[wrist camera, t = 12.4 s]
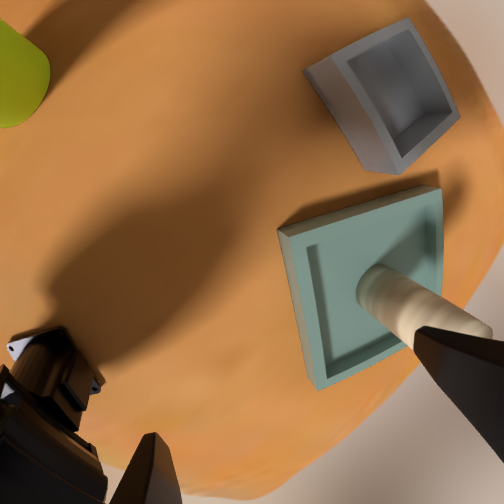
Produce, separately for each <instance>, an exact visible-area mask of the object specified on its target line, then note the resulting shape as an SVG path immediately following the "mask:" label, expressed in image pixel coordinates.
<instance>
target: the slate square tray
mask: <svg viewBox="0 0 504 504" xmlns="http://www.w3.org/2000/svg"><path fill="white" fill-rule="evenodd" d="M302 72H303V74H304V75H305V77H306V78H307V79H308V81H309V82H310V84H311V85H312V86H313V88H314V89H315V91H316V92H317V94H318V95H319V97H320V98H321V100H322V101H323V103H324V104H325V106H326V107H327V109H328V110H329V112H330V113H331V115H332V116H333V118H334V119H335V121H336V123H337V124H338V126H339V127H340V129H341V131H342V132H343V134H344V136H345V137H346V139H347V140H348V142H349V144H350V146H351V147H352V149H353V151H354V152H355V154H356V156H357V158H358V159H359V161H360V163H361V165H362V166H363V168H364V170H365V171H372V172H379V173H386V174H393V175H400V174H401V173H403V172H404V171H405V170H406V169H407V168H408V167H409V166H410V165H411V164H412V163H413V162H414V161H415V160H417V159H418V158H419V157H420V156H421V155H422V154H423V153H424V152H425V151H426V150H427V149H428V148H429V147H430V146H431V145H433V144H434V143H435V142H436V141H437V140H438V139H439V138H440V137H441V136H442V135H443V134H444V133H445V132H446V131H447V130H448V129H449V128H450V127H451V126H452V125H453V124H454V123H455V122H456V121H457V120H458V119H459V118H460V114H459V112H458V109H457V107H456V104H455V102H454V100H453V98H452V95H451V93H450V91H449V89H448V87H447V85H446V82H445V80H444V78H443V76H442V74H441V72H440V70H439V68H438V66H437V65H436V63H435V61H434V59H433V57H432V55H431V53H430V52H429V50H428V48H427V46H426V45H425V43H424V41H423V39H422V38H421V36H420V34H419V33H418V31H417V30H416V28H415V26H414V25H413V23H412V22H411V20H410V19H409V17H408V18H405V19H403V20H400V21H398V22H396V23H393V24H391V25H389V26H386V27H384V28H382V29H380V30H378V31H376V32H373V33H371V34H369V35H367V36H365V37H363V38H361V39H359V40H357V41H355V42H353V43H351V44H349V45H347V46H346V47H344V48H342V49H340V50H338V51H336V52H334V53H332V54H331V55H329V56H327V57H325V58H323V59H322V60H320V61H318V62H316V63H315V64H313V65H311V66H310V67H308V68H306V69H304V70H303V71H302Z"/></svg>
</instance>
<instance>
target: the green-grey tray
mask: <svg viewBox="0 0 504 504" xmlns="http://www.w3.org/2000/svg"><path fill="white" fill-rule="evenodd" d="M277 232H278V237H279V241H280V246H281V250H282V255H283V259H284V264H285V268H286V273H287V278H288V282H289V287H290V292H291V296H292V301H293V306H294V311H295V316H296V320H297V325H298V330H299V335H300V340H301V345H302V350H303V355H304V361H305V366H306V371H307V376H308V378H309V379H310V381H311V382H312V384H313V385H314V387H315V388H316V390H317V391H319V390H322V389H324V388H326V387H328V386H331V385H333V384H335V383H337V382H339V381H341V380H344V379H346V378H348V377H350V376H352V375H354V374H356V373H358V372H360V371H362V370H364V369H366V368H368V367H370V366H372V365H374V364H376V363H377V362H379V361H381V360H383V359H385V358H387V357H389V356H390V355H392V354H394V353H396V352H398V351H399V350H401V349H403V348H405V347H406V346H408V345H406V344H405V343H404V342H403V341H402V340H400V339H399V338H398V337H397V336H396V335H394V334H393V333H392V332H391V331H390V330H389V329H387V328H386V327H385V326H384V325H383V324H381V323H380V322H379V321H378V320H376V319H375V318H374V317H373V316H372V315H370V314H369V313H368V312H367V311H366V310H364V309H363V308H362V307H361V306H360V305H359V304H358V302H357V300H356V288H357V284H358V282H359V280H360V278H361V276H362V275H363V274H364V273H365V272H366V271H367V270H368V269H369V268H371V267H372V266H374V265H378V264H384V265H387V266H389V267H390V268H392V269H394V270H396V271H397V272H399V273H401V274H403V275H405V276H406V277H408V278H410V279H412V280H413V281H415V282H417V283H419V284H420V285H422V286H424V287H425V288H427V289H429V290H431V291H432V292H434V293H436V294H437V295H439V296H441V295H442V280H443V251H444V230H443V202H442V188H438V187H434V186H429V185H421V186H417V187H414V188H410V189H407V190H404V191H400V192H397V193H394V194H390V195H387V196H383V197H380V198H377V199H373V200H370V201H367V202H364V203H360V204H357V205H354V206H350V207H347V208H344V209H340V210H337V211H334V212H331V213H327V214H324V215H321V216H318V217H314V218H311V219H308V220H305V221H302V222H298V223H295V224H292V225H289V226H285V227H282V228H279V229H277Z"/></svg>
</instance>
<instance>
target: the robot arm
mask: <svg viewBox="0 0 504 504" xmlns="http://www.w3.org/2000/svg"><path fill="white" fill-rule="evenodd" d="M59 332H62V333H63V335H62V334H60V333H59ZM11 346H12V347H13V348H14V349H13V348H12V347H11ZM7 350H8V351H9V353H10V354H11V356H12V358H13V359H14V361H15V363H14V365H13V367H12V369H11V370H10V372H9V369H8V368H7V367H6V366H5V365H4V364H3V365H1V366H0V504H105V499H106V494H107V490H108V478H107V476H105V475H104V474H103V470H102V466H101V463H100V461H99V459H98V455H97V451H96V447H95V446H93V445H92V444H91V443H87V442H86V441H85V440H83V439H82V438H81V437H79V436H78V435H77V434H76V433H74V432H77V431H78V430H79V426H80V421H81V416H82V412H83V411H86V409H87V405H88V400H89V396H90V395H92V394H97V393H100V391H101V385H100V384H99V382H98V381H97V379H96V378H95V376H94V372H93V371H92V369H91V368H90V366H89V365H88V363H87V362H86V360H85V358H84V357H83V355H82V353H81V352H80V350H78V349H77V347H76V346H75V344H74V342H73V340H72V339H71V337H70V335H69V333H68V332H67V330H66V329H65V328H64V327H63V326H57V327H54V328H51V329H47V330H44V331H41V332H38V333H34V334H31V335H28V336H25V337H21V338H18V339H15V340H11V341H9V342H8V344H7ZM413 350H414V353H415V354H416V356H417V357H418V359H419V360H420V361H421V363H422V364H423V366H424V367H425V368H426V370H427V371H428V373H429V374H430V375H431V377H432V378H433V380H434V381H435V382H436V383H437V385H438V386H439V387H440V388H441V389H442V390H443V392H444V393H445V394H446V395H447V396H448V397H449V398H450V399H451V401H452V402H453V403H454V404H455V405H456V406H457V407H458V409H459V410H460V411H461V412H462V413H463V414H464V416H465V417H466V418H467V419H468V420H469V421H470V422H471V424H472V425H473V426H474V427H475V429H476V430H477V431H478V432H479V433H480V435H481V436H482V437H483V438H484V439H485V440H486V442H487V443H488V444H489V445H490V446H491V448H492V449H493V450H494V451H495V453H496V454H497V455H498V457H499V458H500V459H501V460H502V462H503V463H504V341H498V340H493V339H488V338H483V337H478V336H473V335H468V334H464V333H459V332H454V331H449V330H444V329H440V328H435V327H431V326H422V327H420V328H419V329H417V330H416V331H415V333H414V344H413ZM94 387H96V388H94ZM109 504H182V498H181V492H180V488H179V484H178V480H177V477H176V473H175V469H174V465H173V461H172V457H171V453H170V450H169V447H168V446H167V444H166V443H165V442H164V441H163V439H162V438H161V437H160V436H159V434H158V433H156V432H153V433H148V434H145V435H144V436H143V437H142V439H141V441H140V443H139V445H138V447H137V449H136V451H135V453H134V455H133V457H132V459H131V461H130V463H129V465H128V467H127V469H126V471H125V473H124V475H123V477H122V479H121V481H120V483H119V485H118V487H117V489H116V491H115V493H114V495H113V497H112V499H111V501H110V503H109Z"/></svg>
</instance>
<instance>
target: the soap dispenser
mask: <svg viewBox="0 0 504 504" xmlns="http://www.w3.org/2000/svg"><path fill="white" fill-rule="evenodd" d="M49 82H50V64H49V60H48V58H47V56H46V55H45V54H44V53H43V52H42V51H41V50H40V49H39V48H37V47H36V46H35V45H34V44H32V43H31V42H30V41H29V40H27V39H26V38H25V37H23V36H22V35H21V34H20V33H18V32H17V31H16V30H14V29H13V28H12V27H11V26H9V25H8V24H7V23H5V22H4V21H3V20H2V19H0V128H9V127H14V126H16V125H18V124H20V123H22V122H24V121H25V120H26V119H28V118H29V117H30V116H31V115H32V114H33V113H34V112H35V110H36V109H37V108H38V107H39V105H40V104H41V102H42V100H43V98H44V96H45V94H46V92H47V89H48V86H49Z"/></svg>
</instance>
